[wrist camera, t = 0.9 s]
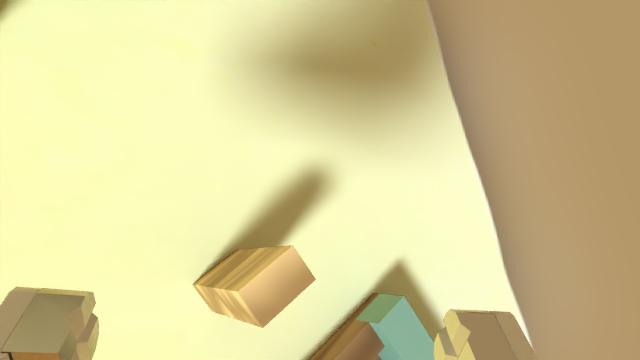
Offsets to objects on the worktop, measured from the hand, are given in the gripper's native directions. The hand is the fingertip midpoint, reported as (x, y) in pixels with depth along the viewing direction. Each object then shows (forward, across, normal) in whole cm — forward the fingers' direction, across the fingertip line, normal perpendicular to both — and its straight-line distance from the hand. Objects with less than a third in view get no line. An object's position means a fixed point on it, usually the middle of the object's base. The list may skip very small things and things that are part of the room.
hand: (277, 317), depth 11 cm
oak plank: (+23, +3, +22) cm, 32 cm away
